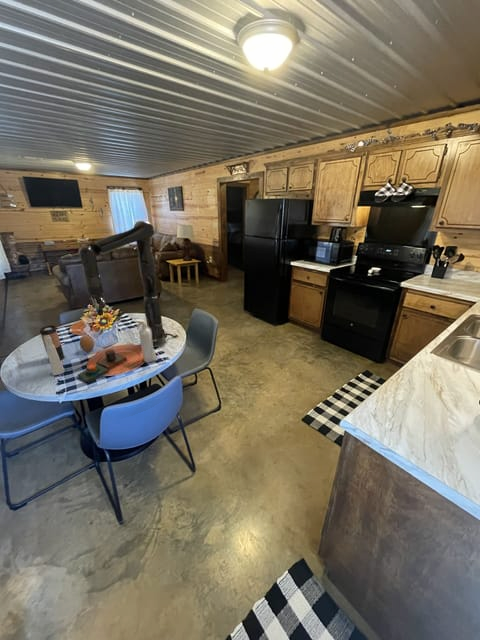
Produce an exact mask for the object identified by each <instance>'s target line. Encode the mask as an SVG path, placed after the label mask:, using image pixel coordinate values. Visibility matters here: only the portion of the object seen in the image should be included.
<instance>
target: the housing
mask: <svg viewBox="0 0 480 640" xmlns="http://www.w3.org/2000/svg"><path fill="white" fill-rule="evenodd" d="M94 365H95V366H96V369H95V370H93V371H88V367H86V368H85V369H84V371H82V372H80V373H78V374H77V378H78V379H80V380H81V381H84V382H86V383H88V384H90V383H91V382H94V381H95V380H97V379H99V378H101V377H103V376H104V375H106V374H108V373H109V371H108V369H106V368H104V367H102V366H100V365H97V364H94Z"/></svg>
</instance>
